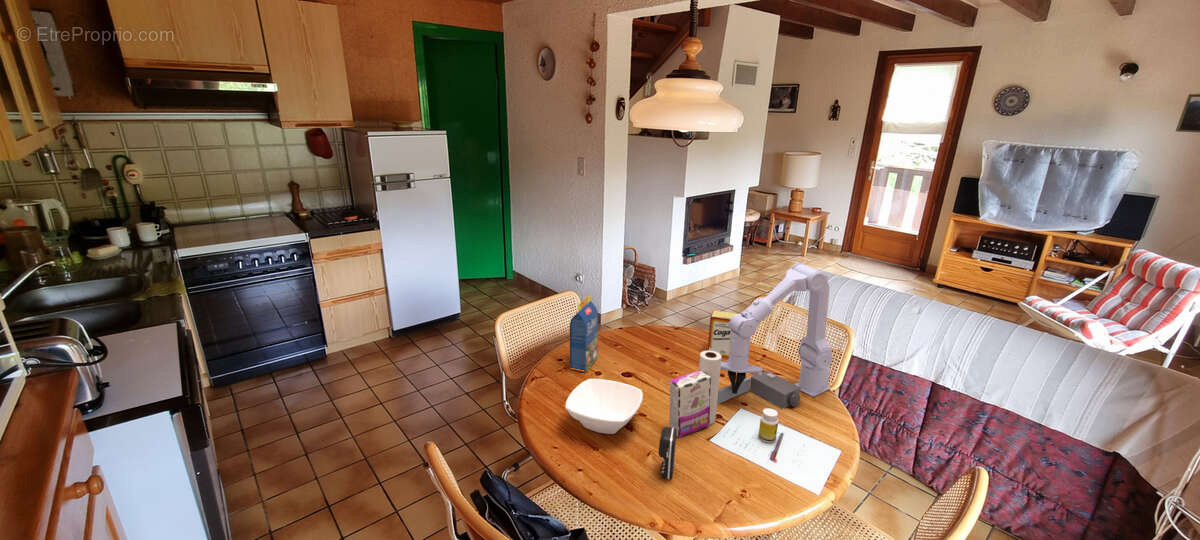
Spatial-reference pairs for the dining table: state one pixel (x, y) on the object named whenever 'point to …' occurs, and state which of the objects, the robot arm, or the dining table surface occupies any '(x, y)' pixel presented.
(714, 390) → the paper towel roll
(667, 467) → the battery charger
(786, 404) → the box
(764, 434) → the supplement bottle
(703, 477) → the dining table surface
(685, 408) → the candy bar box
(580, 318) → the blue food package
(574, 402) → the bowl
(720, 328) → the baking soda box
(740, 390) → the side door
